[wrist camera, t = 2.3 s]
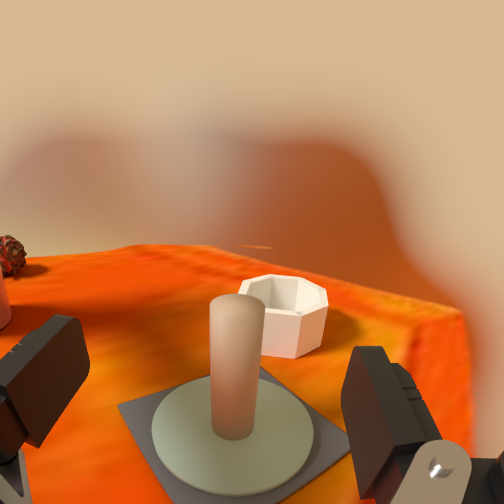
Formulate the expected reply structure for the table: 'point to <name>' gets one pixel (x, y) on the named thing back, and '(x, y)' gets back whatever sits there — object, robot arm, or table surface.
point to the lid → (233, 414)
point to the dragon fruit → (11, 255)
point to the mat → (191, 500)
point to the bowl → (289, 314)
